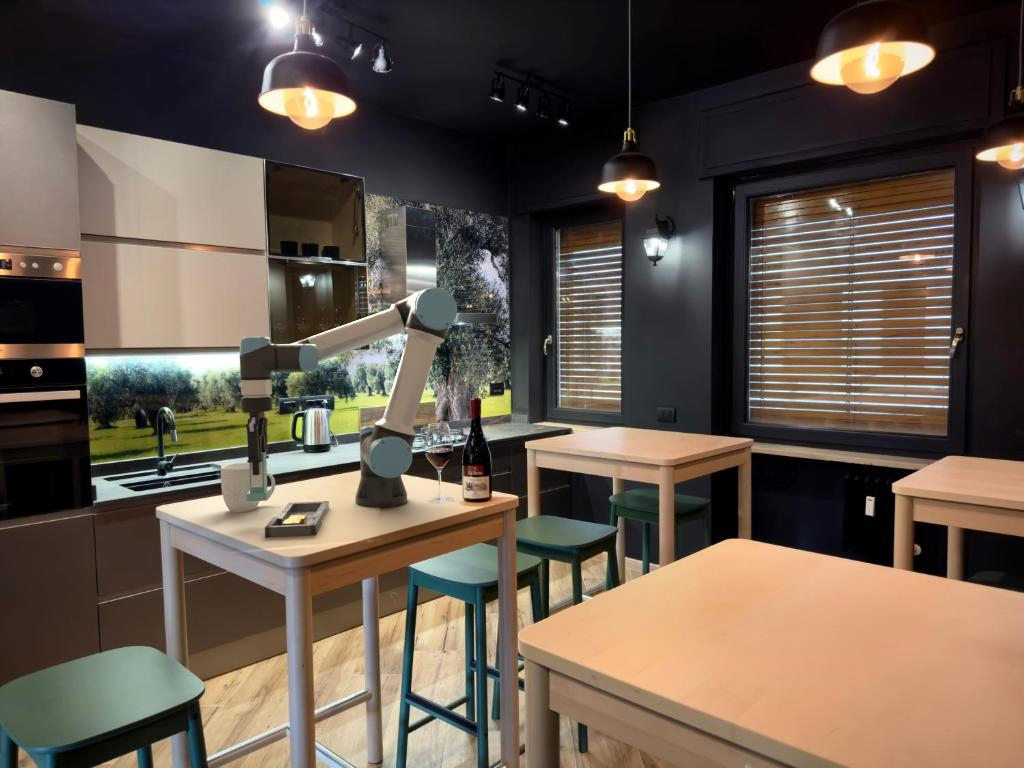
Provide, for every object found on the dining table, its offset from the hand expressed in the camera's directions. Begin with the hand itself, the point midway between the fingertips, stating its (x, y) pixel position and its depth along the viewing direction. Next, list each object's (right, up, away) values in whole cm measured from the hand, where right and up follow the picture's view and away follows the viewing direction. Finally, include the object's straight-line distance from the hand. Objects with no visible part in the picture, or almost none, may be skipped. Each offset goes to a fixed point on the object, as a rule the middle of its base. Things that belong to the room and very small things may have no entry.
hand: (259, 485), depth 180 cm
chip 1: (+11, -11, -7) cm, 17 cm away
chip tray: (+11, -11, -7) cm, 17 cm away
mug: (-10, -10, +18) cm, 23 cm away
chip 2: (+11, -10, -3) cm, 15 cm away
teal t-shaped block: (0, -4, 0) cm, 4 cm away
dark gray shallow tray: (+10, -10, +7) cm, 16 cm away
